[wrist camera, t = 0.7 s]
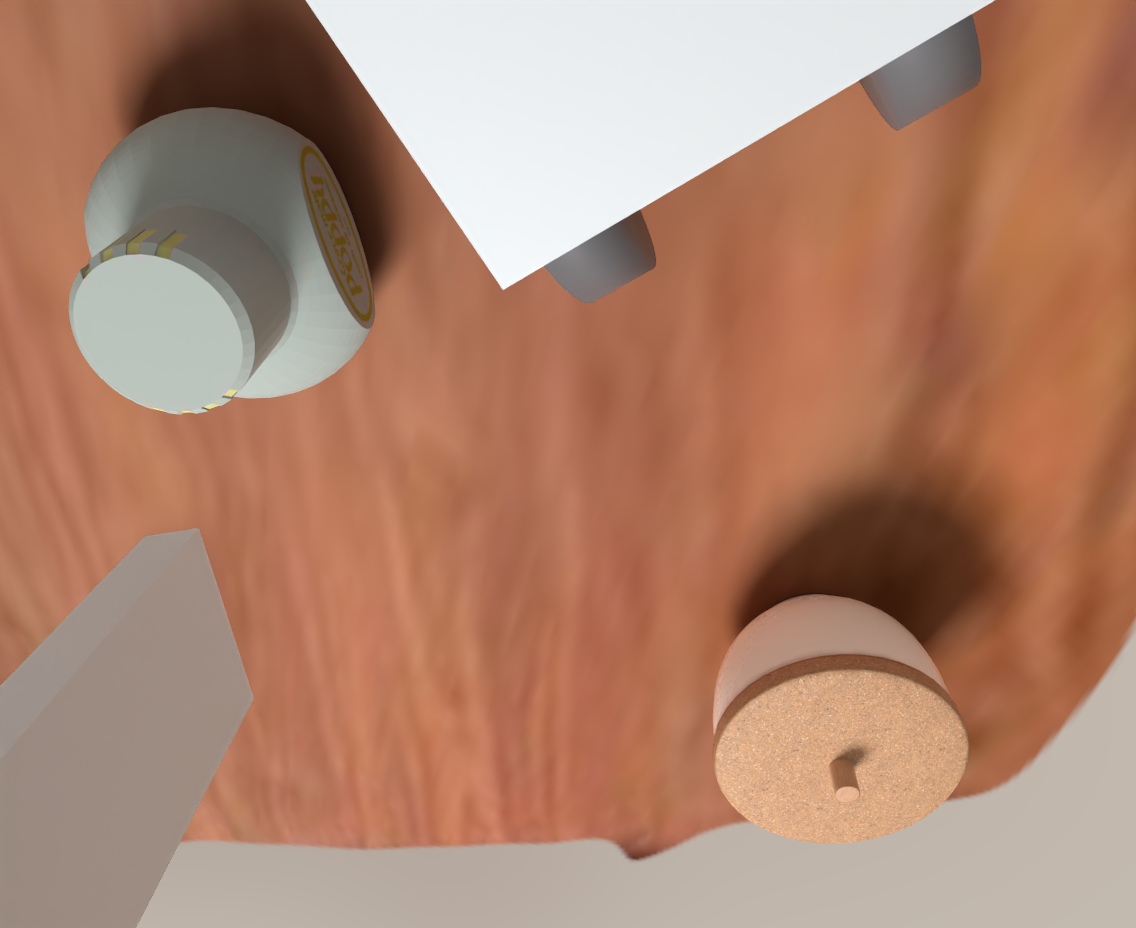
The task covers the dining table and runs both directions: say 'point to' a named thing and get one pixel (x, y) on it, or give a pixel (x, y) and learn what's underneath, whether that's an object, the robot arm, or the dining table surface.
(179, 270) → the air freshener
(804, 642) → the lidded jar
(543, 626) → the dining table surface
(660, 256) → the dining table surface
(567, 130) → the trolley
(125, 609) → the robot arm
